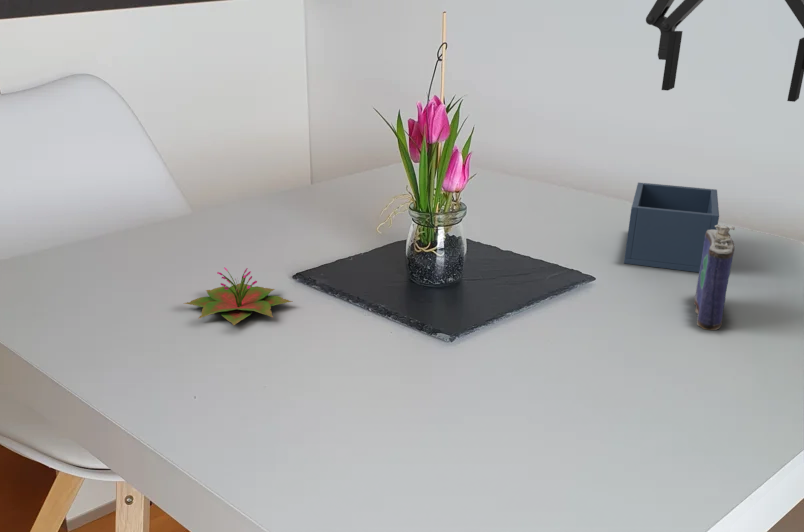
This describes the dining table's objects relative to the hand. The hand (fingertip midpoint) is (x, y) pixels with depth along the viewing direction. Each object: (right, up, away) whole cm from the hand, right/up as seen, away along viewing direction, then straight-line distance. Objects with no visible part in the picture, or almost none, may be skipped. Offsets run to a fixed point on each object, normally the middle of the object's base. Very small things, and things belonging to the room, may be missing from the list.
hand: (728, 94), depth 96 cm
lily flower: (-56, -25, +1) cm, 62 cm away
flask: (-2, -25, 0) cm, 26 cm away
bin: (0, -17, +20) cm, 26 cm away
